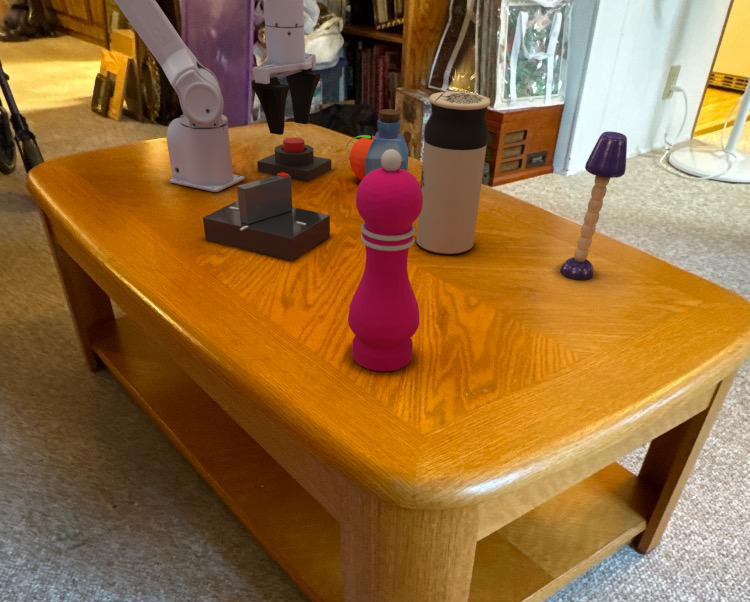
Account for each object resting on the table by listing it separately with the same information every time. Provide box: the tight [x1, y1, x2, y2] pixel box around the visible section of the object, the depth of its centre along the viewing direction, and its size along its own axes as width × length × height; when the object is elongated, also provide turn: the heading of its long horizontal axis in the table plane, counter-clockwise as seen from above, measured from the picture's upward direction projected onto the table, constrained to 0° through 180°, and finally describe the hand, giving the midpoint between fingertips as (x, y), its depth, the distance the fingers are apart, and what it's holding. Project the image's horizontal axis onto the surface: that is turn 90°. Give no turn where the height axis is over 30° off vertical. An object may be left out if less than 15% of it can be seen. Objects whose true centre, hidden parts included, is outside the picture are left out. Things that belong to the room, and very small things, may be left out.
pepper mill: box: [347, 149, 423, 372], centre depth 65 cm, size 7×7×20 cm
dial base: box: [202, 200, 331, 262], centre depth 93 cm, size 14×12×3 cm
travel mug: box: [415, 91, 491, 255], centre depth 89 cm, size 8×8×18 cm
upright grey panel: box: [236, 172, 293, 224], centre depth 91 cm, size 8×2×5 cm, turn 138°
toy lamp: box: [560, 131, 628, 281], centre depth 83 cm, size 5×5×17 cm
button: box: [282, 136, 306, 153], centre depth 114 cm, size 4×4×2 cm
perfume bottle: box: [365, 108, 410, 176], centre depth 105 cm, size 6×6×12 cm
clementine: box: [345, 134, 375, 181], centre depth 112 cm, size 8×7×7 cm
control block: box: [256, 144, 332, 183], centre depth 116 cm, size 10×8×4 cm
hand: (289, 128), depth 108 cm, fingers open, 7 cm apart
